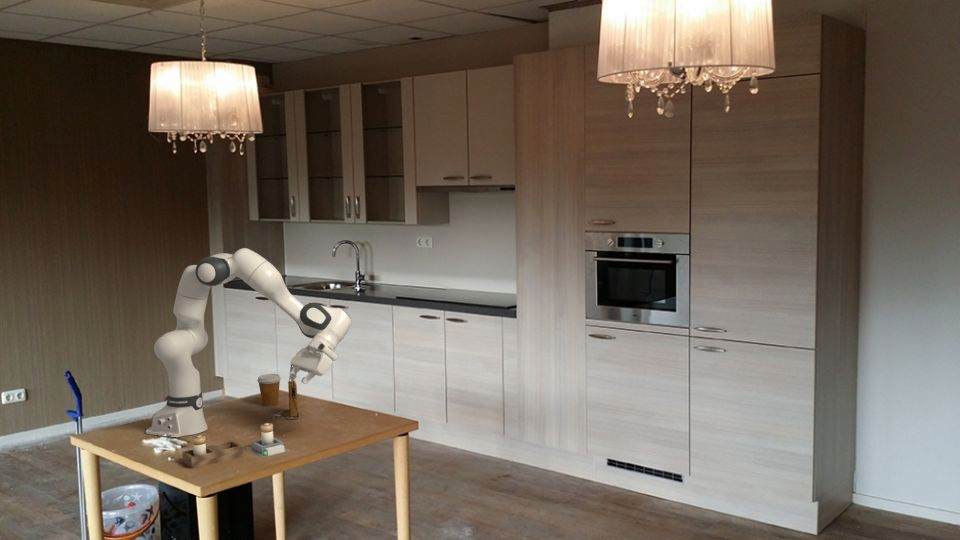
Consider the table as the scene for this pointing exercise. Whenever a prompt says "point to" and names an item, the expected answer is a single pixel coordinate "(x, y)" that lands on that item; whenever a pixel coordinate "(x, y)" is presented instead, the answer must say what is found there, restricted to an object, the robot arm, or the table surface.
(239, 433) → the table surface
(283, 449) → the checker
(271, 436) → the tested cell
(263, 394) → the disposable coffee cup
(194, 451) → the cell
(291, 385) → the multimeter
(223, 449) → the rack
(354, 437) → the table surface
